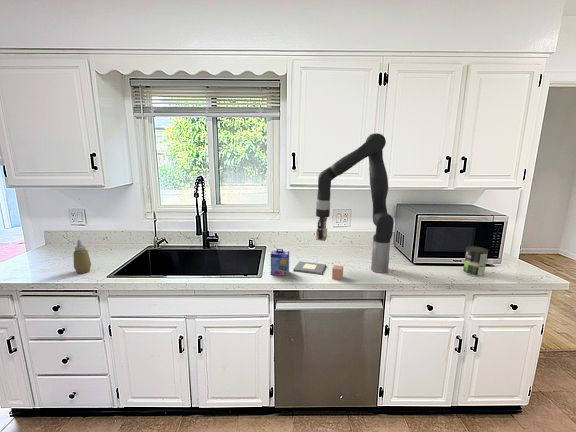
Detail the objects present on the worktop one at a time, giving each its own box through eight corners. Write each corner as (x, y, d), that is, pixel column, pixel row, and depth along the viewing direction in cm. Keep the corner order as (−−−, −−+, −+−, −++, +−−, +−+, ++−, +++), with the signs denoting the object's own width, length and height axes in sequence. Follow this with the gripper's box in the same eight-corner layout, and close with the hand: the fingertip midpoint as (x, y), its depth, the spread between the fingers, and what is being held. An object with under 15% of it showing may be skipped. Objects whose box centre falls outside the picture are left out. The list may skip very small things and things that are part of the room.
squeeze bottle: (93, 268, 176) (89, 237, 172) (90, 273, 169) (85, 241, 165) (76, 270, 174) (72, 239, 170) (72, 275, 166) (67, 243, 162)
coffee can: (467, 276, 169) (470, 251, 166) (460, 269, 179) (463, 245, 176) (487, 277, 167) (491, 252, 164) (479, 270, 177) (483, 246, 174)
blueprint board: (325, 266, 182) (325, 264, 182) (321, 274, 170) (321, 272, 170) (299, 262, 187) (299, 260, 186) (293, 270, 174) (293, 268, 174)
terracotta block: (342, 276, 167) (343, 266, 166) (341, 280, 163) (342, 269, 161) (333, 275, 169) (334, 265, 168) (332, 279, 164) (332, 268, 163)
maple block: (326, 238, 177) (327, 228, 175) (324, 240, 172) (325, 230, 171) (317, 237, 178) (318, 227, 177) (316, 239, 173) (316, 229, 172)
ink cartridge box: (270, 275, 169) (270, 249, 166) (271, 271, 174) (271, 246, 171) (288, 275, 168) (288, 250, 165) (289, 271, 173) (289, 246, 170)
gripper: (327, 210, 163) (325, 242, 167) (332, 206, 177) (330, 235, 181) (313, 209, 166) (311, 240, 169) (319, 205, 179) (317, 233, 183)
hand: (321, 237), depth 175 cm, fingers closed on maple block, 5 cm apart
